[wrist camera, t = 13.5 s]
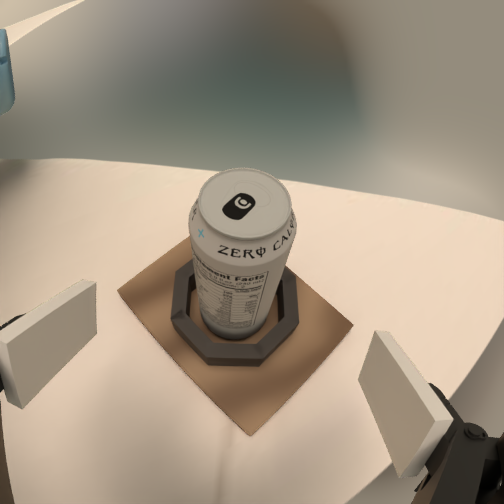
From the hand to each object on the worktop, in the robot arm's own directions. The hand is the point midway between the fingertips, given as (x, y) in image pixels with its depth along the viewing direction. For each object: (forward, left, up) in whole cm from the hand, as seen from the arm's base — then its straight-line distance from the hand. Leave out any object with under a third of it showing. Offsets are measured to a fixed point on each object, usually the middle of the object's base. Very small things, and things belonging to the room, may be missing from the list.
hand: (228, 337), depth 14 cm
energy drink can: (-4, +5, -14) cm, 15 cm away
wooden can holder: (-4, +5, -15) cm, 16 cm away
